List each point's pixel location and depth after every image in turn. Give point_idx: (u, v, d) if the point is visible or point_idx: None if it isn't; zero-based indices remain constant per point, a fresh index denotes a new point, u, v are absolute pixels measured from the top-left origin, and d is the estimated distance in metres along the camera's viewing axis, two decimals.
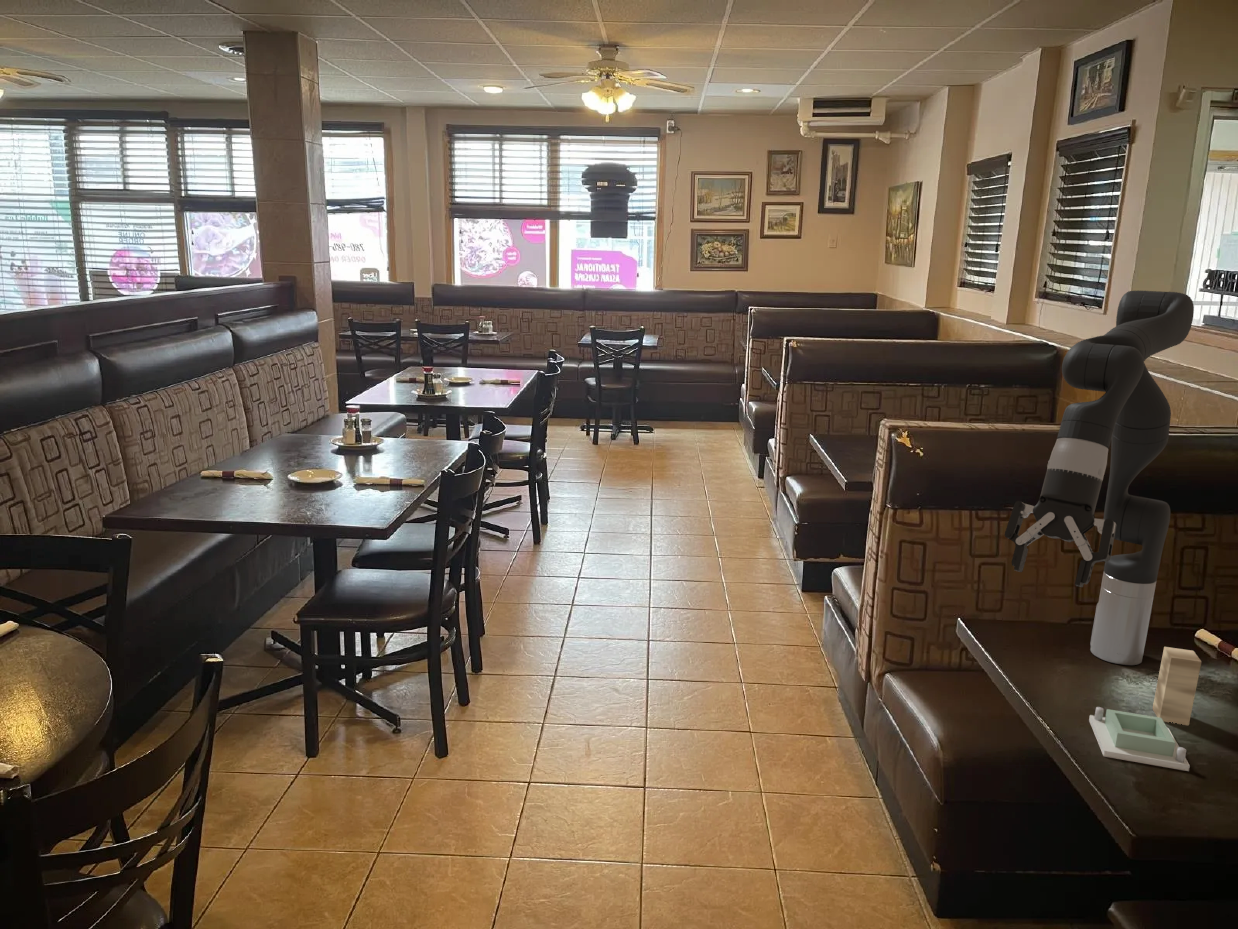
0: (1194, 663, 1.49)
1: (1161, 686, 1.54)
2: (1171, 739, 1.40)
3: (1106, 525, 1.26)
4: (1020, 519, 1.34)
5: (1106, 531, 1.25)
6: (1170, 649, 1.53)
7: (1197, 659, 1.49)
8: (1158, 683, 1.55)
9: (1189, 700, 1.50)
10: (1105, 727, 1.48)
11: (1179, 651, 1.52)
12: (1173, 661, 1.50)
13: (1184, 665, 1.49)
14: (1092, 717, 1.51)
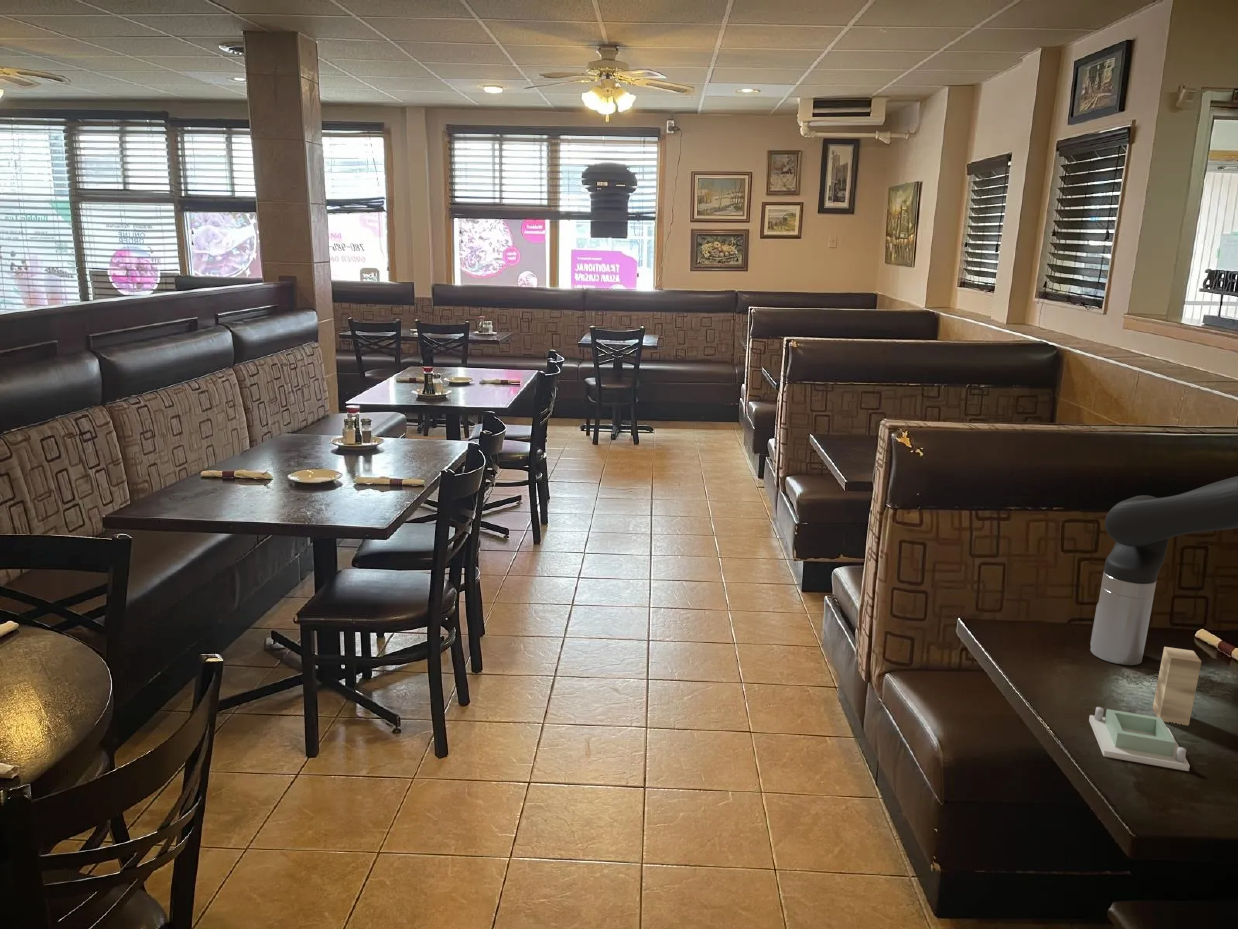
0: (1194, 663, 1.49)
1: (1161, 686, 1.54)
2: (1171, 739, 1.40)
3: None
4: None
5: None
6: (1170, 649, 1.53)
7: (1197, 659, 1.49)
8: (1158, 683, 1.55)
9: (1189, 700, 1.50)
10: (1105, 727, 1.48)
11: (1179, 651, 1.52)
12: (1173, 661, 1.50)
13: (1184, 665, 1.49)
14: (1092, 717, 1.51)
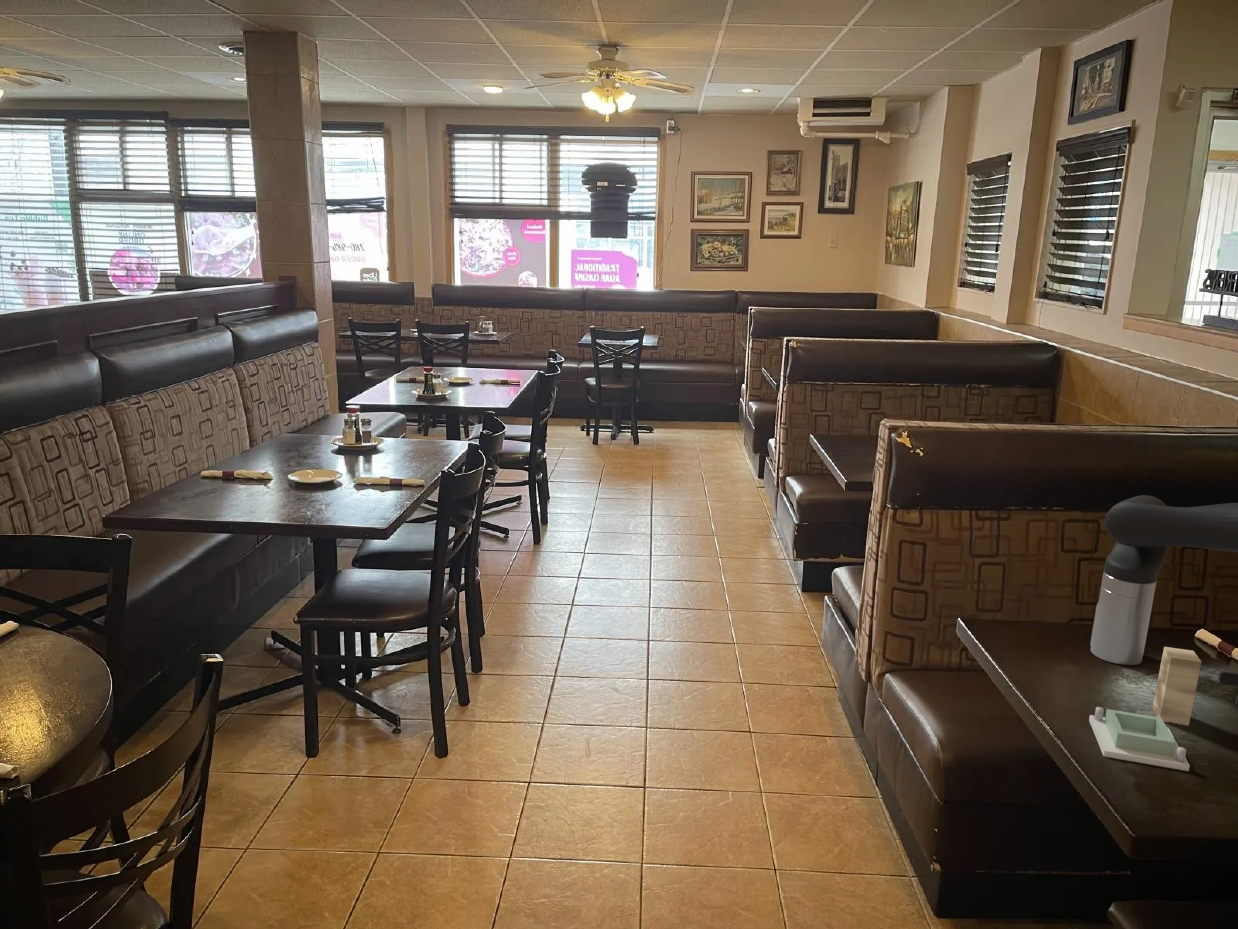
0: (1194, 663, 1.49)
1: (1161, 686, 1.54)
2: (1171, 739, 1.40)
3: None
4: None
5: None
6: (1170, 649, 1.53)
7: (1197, 659, 1.49)
8: (1158, 683, 1.55)
9: (1189, 700, 1.50)
10: (1105, 727, 1.48)
11: (1179, 651, 1.52)
12: (1173, 661, 1.50)
13: (1184, 665, 1.49)
14: (1092, 717, 1.51)
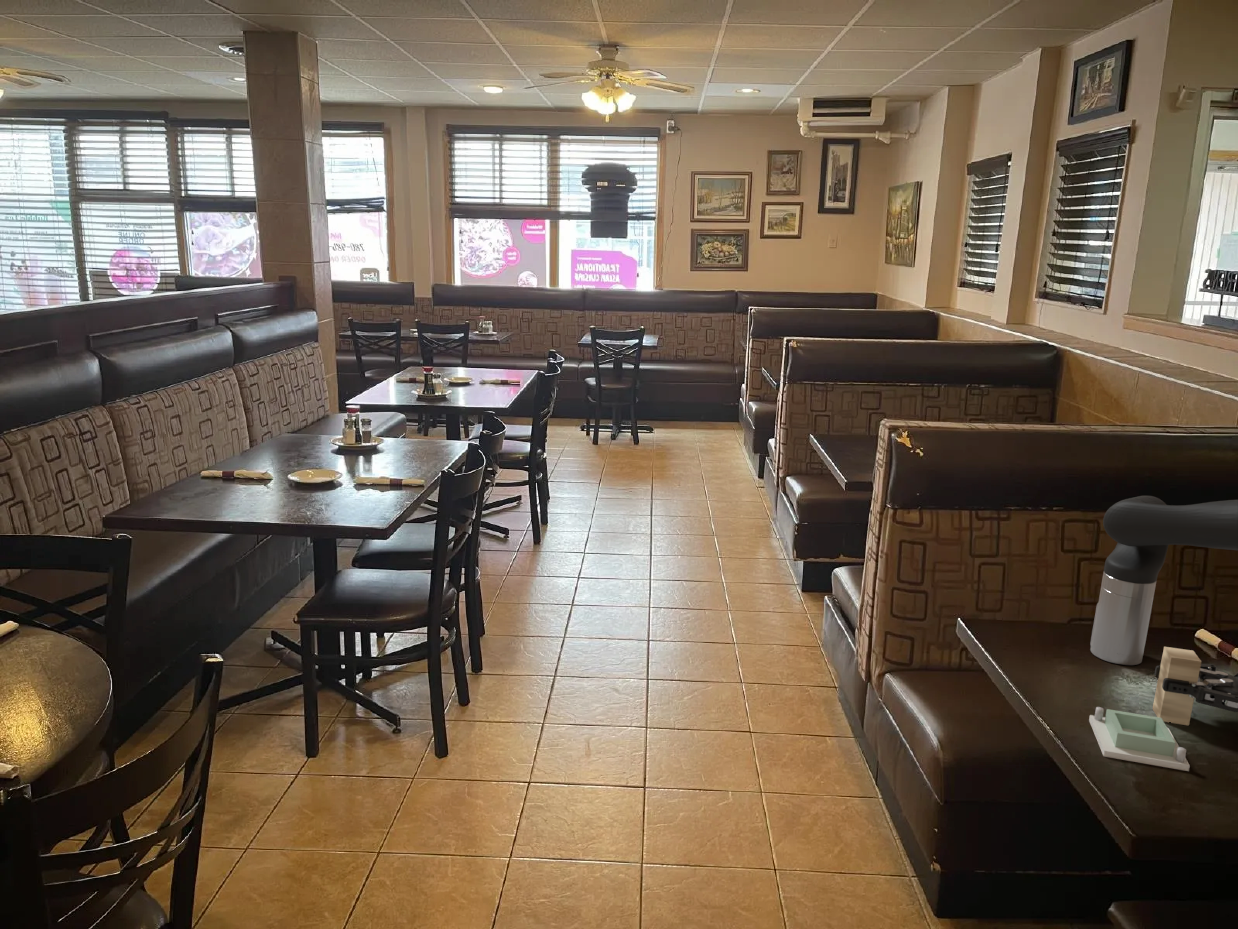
0: (1194, 663, 1.49)
1: (1160, 686, 1.53)
2: (1171, 739, 1.40)
3: None
4: None
5: None
6: (1170, 649, 1.53)
7: (1197, 659, 1.49)
8: (1158, 683, 1.55)
9: (1189, 700, 1.50)
10: (1105, 727, 1.48)
11: (1179, 651, 1.52)
12: (1173, 661, 1.50)
13: (1184, 665, 1.49)
14: (1092, 717, 1.51)
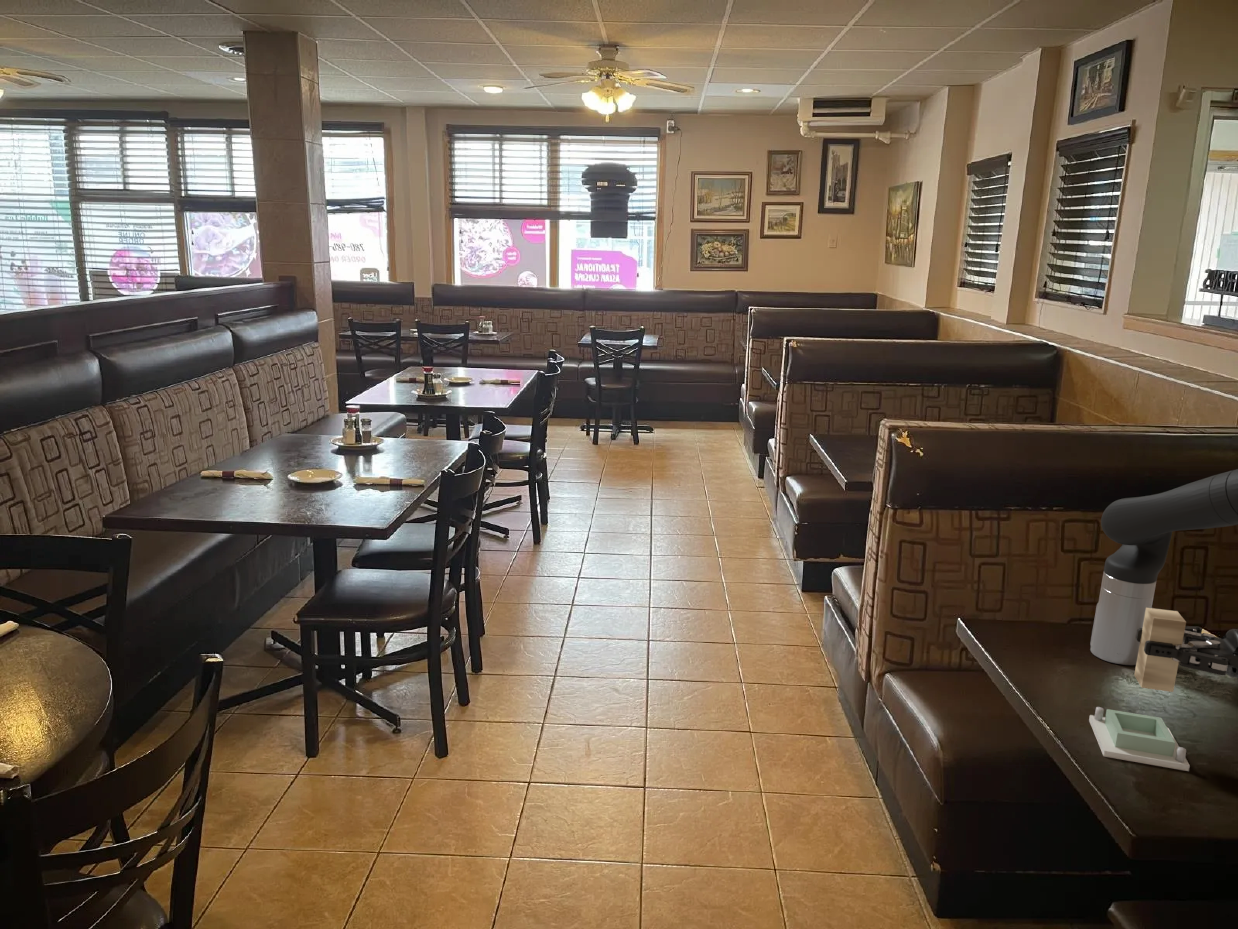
0: (1178, 623, 1.37)
1: (1143, 650, 1.42)
2: (1171, 739, 1.40)
3: None
4: None
5: None
6: (1152, 610, 1.41)
7: (1181, 619, 1.38)
8: (1140, 647, 1.43)
9: (1173, 664, 1.39)
10: (1105, 727, 1.48)
11: (1162, 612, 1.41)
12: (1155, 622, 1.38)
13: (1168, 626, 1.38)
14: (1092, 717, 1.51)
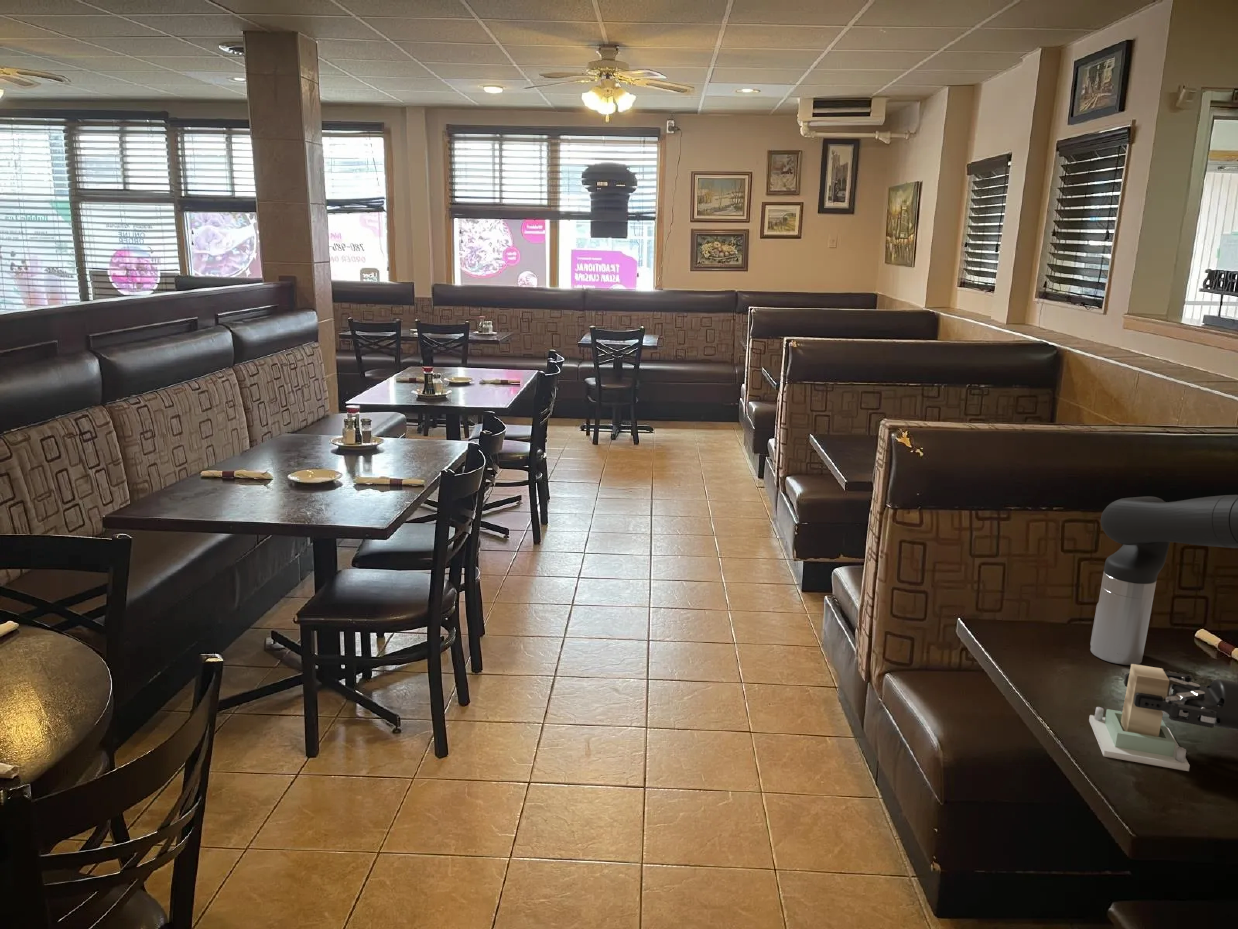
0: (1161, 682, 1.39)
1: (1127, 706, 1.44)
2: (1171, 739, 1.40)
3: None
4: None
5: None
6: (1137, 666, 1.43)
7: (1165, 678, 1.40)
8: (1125, 702, 1.46)
9: (1157, 722, 1.41)
10: (1105, 727, 1.48)
11: (1147, 669, 1.43)
12: (1139, 680, 1.40)
13: (1151, 684, 1.40)
14: (1092, 717, 1.51)
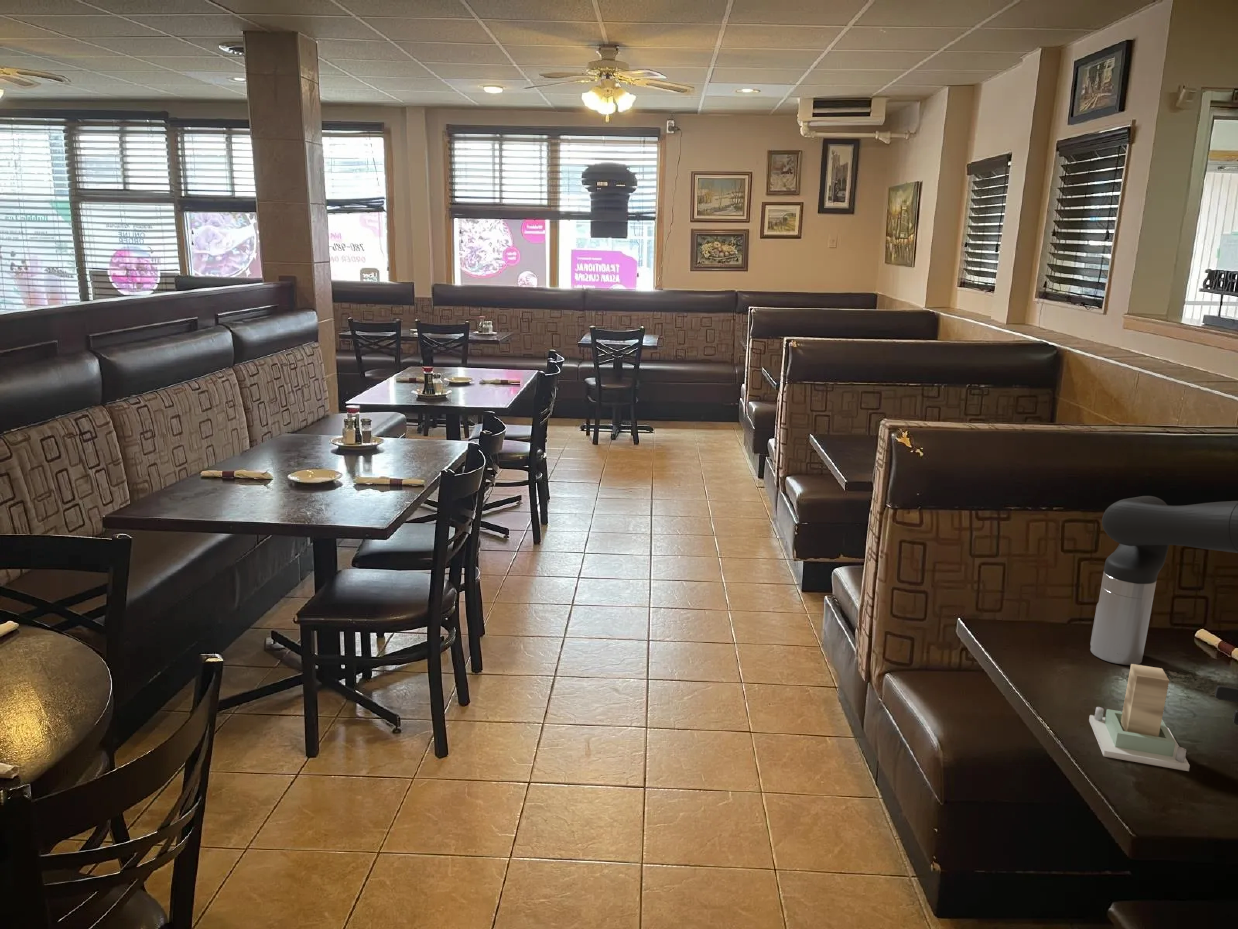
0: (1161, 682, 1.39)
1: (1127, 706, 1.44)
2: (1171, 739, 1.40)
3: None
4: None
5: None
6: (1137, 666, 1.43)
7: (1165, 678, 1.40)
8: (1125, 702, 1.46)
9: (1156, 722, 1.41)
10: (1105, 727, 1.48)
11: (1146, 669, 1.43)
12: (1139, 680, 1.40)
13: (1151, 684, 1.40)
14: (1092, 717, 1.51)
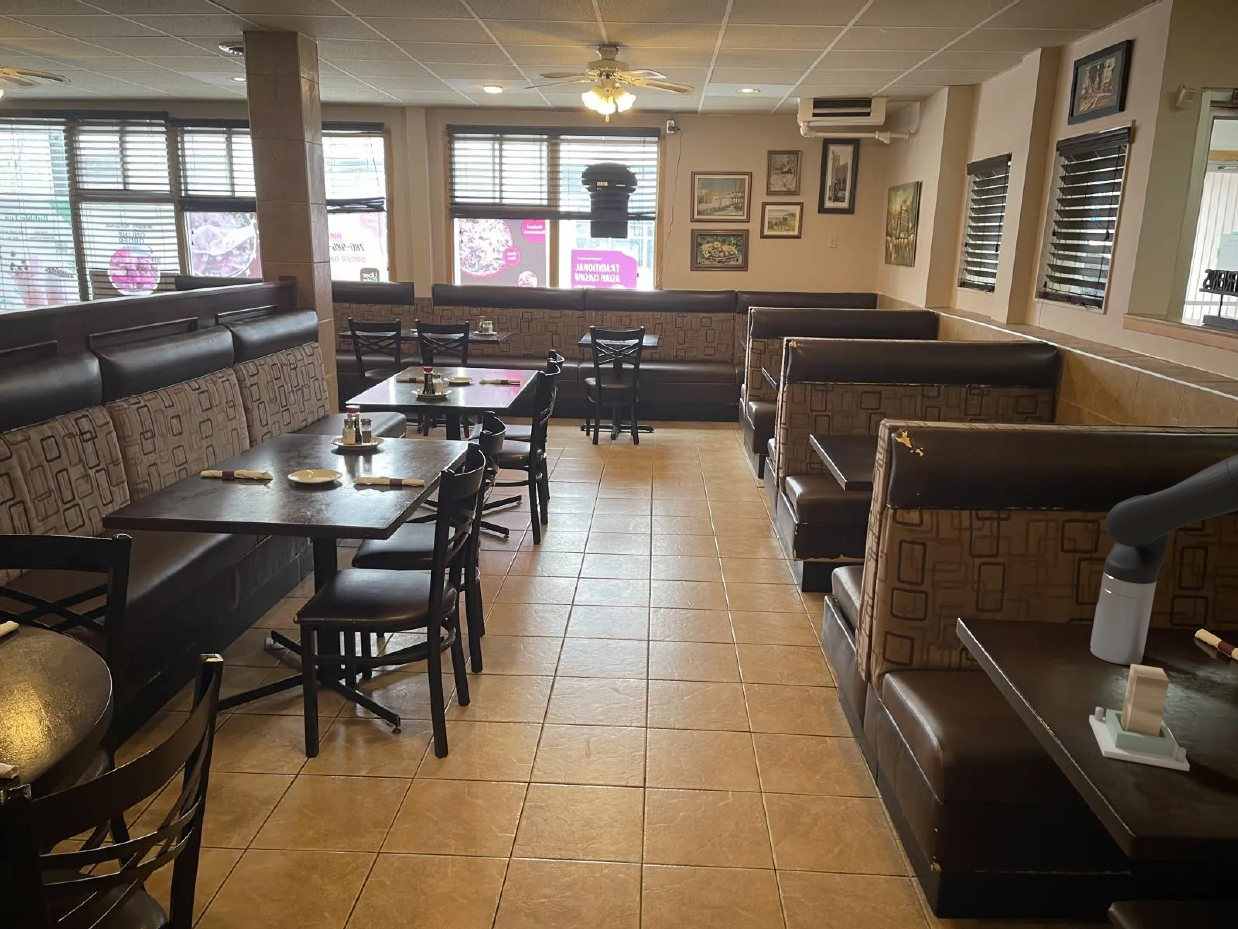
0: (1161, 682, 1.39)
1: (1127, 706, 1.44)
2: (1171, 739, 1.40)
3: None
4: None
5: None
6: (1137, 666, 1.43)
7: (1165, 678, 1.40)
8: (1125, 702, 1.46)
9: (1156, 722, 1.41)
10: (1105, 727, 1.48)
11: (1146, 669, 1.43)
12: (1139, 680, 1.40)
13: (1151, 684, 1.40)
14: (1092, 717, 1.51)
